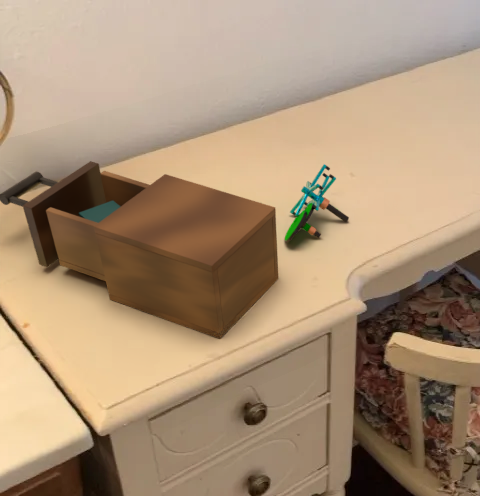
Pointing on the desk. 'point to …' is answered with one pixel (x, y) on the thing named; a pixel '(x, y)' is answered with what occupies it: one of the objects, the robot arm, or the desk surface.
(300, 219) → the stick construction toy
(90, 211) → the block
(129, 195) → the drawer
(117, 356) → the desk surface
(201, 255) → the cabinet
